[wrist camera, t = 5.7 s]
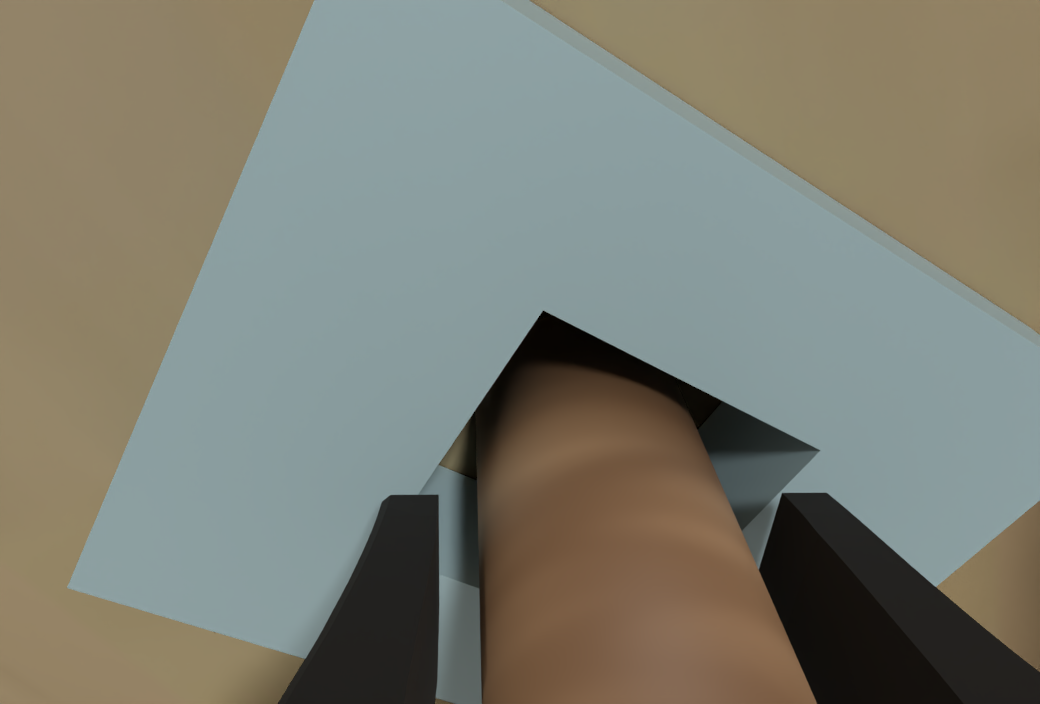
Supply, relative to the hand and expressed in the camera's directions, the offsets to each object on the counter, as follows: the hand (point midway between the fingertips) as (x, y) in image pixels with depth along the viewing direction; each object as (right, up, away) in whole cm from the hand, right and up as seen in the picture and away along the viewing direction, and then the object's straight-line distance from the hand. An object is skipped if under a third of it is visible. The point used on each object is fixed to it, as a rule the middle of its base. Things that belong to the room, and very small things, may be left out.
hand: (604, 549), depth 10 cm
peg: (0, +2, +3) cm, 3 cm away
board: (0, +2, +3) cm, 3 cm away
